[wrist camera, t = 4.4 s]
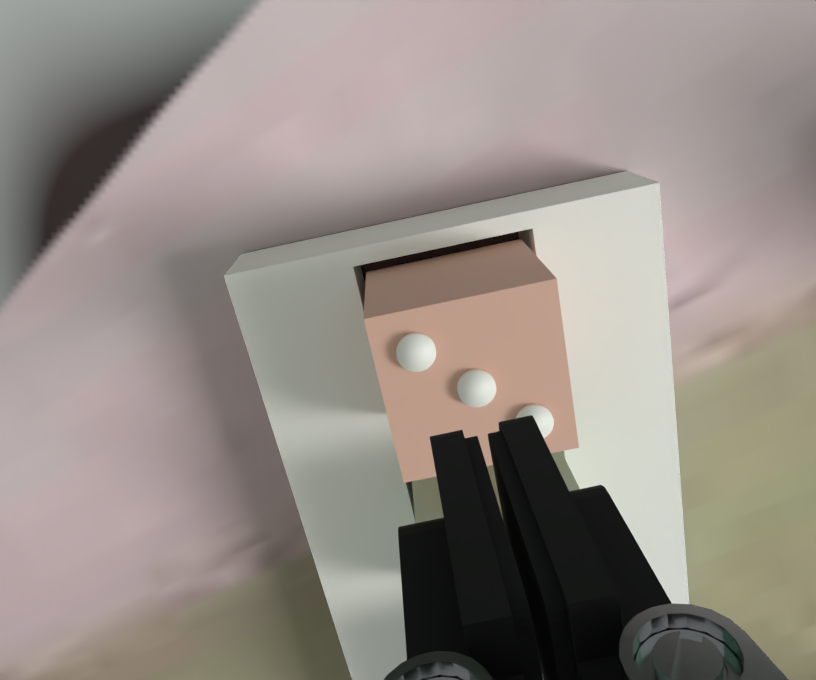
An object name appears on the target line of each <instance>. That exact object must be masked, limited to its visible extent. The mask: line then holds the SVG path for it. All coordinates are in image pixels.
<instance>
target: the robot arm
mask: <svg viewBox="0 0 816 680" xmlns="http://www.w3.org/2000/svg"><path fill="white" fill-rule="evenodd" d="M488 441H489V446H490V452H491V457H492V462H493V468H494V473H495V479H496V484H497V489H498V495H499V500H500V506H501V511H502V515H501V511H500V508H499V505H498V502H497V498H496V495H495V492H494V488H493V485H492V482H491V479H490V475H489V472H488V469H487V466H486V462H485V459H484V456H483V452H482V449H481V446H480V443H479V439H478V436H474V437H469V438H464V434H463V430H459V431H454V432H449V433H444V434H440V435H435V436H430V442H431V448H432V453H433V459H434V465H435V471H436V476H437V482H438V488H439V493H440V499H441V505H442V511H443V516H444V518H439V519H434V520H429V521H424V522H420V523H415V524H410V525H405V526H400V527H399V528H398V540H399V555H400V569H401V583H402V597H403V611H404V625H405V639H406V653H407V660H406V661H404V662H402V663H401V664H399V665H398V666H397V667H396V668H395V669H394V670H392V671H391V672H390V673H389V674H388V675H387V676H386V677H385V678H384V680H543V679H544V680H788V679H787V677H786V676H785V675H784V674H783V673H782V672H781V671H780V670H779V669H778V667H777V666H776V665H775V664H774V663H773V662H772V661H771V660H770V659H769V657H768V656H767V655H766V654H765V653H764V652H763V651H762V650H761V649H760V647H759V646H758V645H757V644H756V643H755V642H754V641H753V640H752V639H751V637H750V636H749V635H748V634H747V633H746V632H745V631H744V630H742V629H741V628H740V627H739V626H738V625H737V624H735V623H734V622H733V621H732V620H731V619H729V618H727V617H725V616H723V615H721V614H719V613H717V612H715V611H713V610H711V609H707V608H704V607H700V606H696V605H692V604H673V603H671V601H670V599H669V598H668V596H667V594H666V592H665V591H664V589H663V587H662V585H661V584H660V582H659V580H658V578H657V577H656V575H655V573H654V571H653V570H652V568H651V566H650V564H649V563H648V561H647V559H646V557H645V556H644V554H643V552H642V550H641V549H640V547H639V545H638V543H637V542H636V540H635V538H634V536H633V535H632V533H631V531H630V529H629V528H628V526H627V524H626V522H625V521H624V519H623V517H622V515H621V514H620V512H619V510H618V509H617V507H616V505H615V503H614V502H613V500H612V498H611V496H610V495H609V493H608V491H607V490H606V488H605V487H604V486H602V485H597V486H593V487H588V488H583V489H578V490H573V491H569V490H568V488H567V486H566V484H565V481H564V479H563V477H562V475H561V473H560V471H559V469H558V467H557V465H556V463H555V461H554V459H553V457H552V454H551V452H550V450H549V448H548V446H547V444H546V442H545V440H544V438H543V436H542V434H541V432H540V430H539V427H538V425H537V423H536V421H535V419H534V417H533V416H532V415H530V416H525V417H520V418H516V419H511V420H506V421H501V422H499V431H497V432H493V433H488ZM502 516H503V518H502ZM542 675H543V676H542Z"/></svg>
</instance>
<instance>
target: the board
mask: <svg viewBox="0 0 816 680" xmlns="http://www.w3.org/2000/svg"><path fill="white" fill-rule="evenodd" d="M514 232H518V233H519V239H522V240H523V241H524V243H525V244H526V245H527V246H528V247H529V248H530V249H531V250H532V252H533V253H534V254H535V255H536V256H537V257H538V258H539V259H540V260H541V262H542V263H543V264H544V265H545V266H546V267H547V268H548V269H549V271H550V272H551V273H552V274H553V275H554V276H555V277H556V278H557V284H558V292H559V300H560V307H561V315H562V322H563V330H564V338H565V345H566V353H567V360H568V368H569V375H570V383H571V391H572V398H573V406H574V413H575V421H576V429H577V436H578V444H579V448H575V449H570V450H565V451H561V452H562V454H563V456H564V458H565V460H566V462H567V464H568V466H569V468H570V470H571V472H572V474H573V476H574V478H575V480H576V482H577V484H578V486H579V488H580V489H583V488H588V487H593V486H597V485H602V486H604V487H605V488H606V490H607V491H608V493H609V495H610V496H611V498H612V500H613V502H614V503H615V505H616V507H617V509H618V510H619V512H620V514H621V515H622V517H623V519H624V521H625V522H626V524H627V526H628V528H629V529H630V531H631V533H632V535H633V536H634V538H635V540H636V542H637V543H638V545H639V547H640V549H641V550H642V552H643V554H644V556H645V557H646V559H647V561H648V563H649V564H650V566H651V568H652V570H653V571H654V573H655V575H656V577H657V578H658V580H659V582H660V584H661V585H662V587H663V589H664V591H665V592H666V594H667V596H668V598H669V599H670V601H671V603H673V604H689V595H688V581H687V567H686V553H685V539H684V525H683V510H682V496H681V482H680V468H679V454H678V440H677V425H676V411H675V397H674V383H673V369H672V355H671V341H670V326H669V312H668V298H667V284H666V270H665V256H664V241H663V227H662V213H661V199H660V185H659V182H656V181H653V180H651V179H648V178H645V177H643V176H640V175H637V174H634V173H632V172H629V171H624V172H620V173H615V174H610V175H606V176H601V177H596V178H592V179H587V180H582V181H578V182H573V183H568V184H564V185H559V186H554V187H550V188H545V189H541V190H536V191H531V192H527V193H522V194H517V195H513V196H508V197H503V198H499V199H494V200H489V201H485V202H480V203H475V204H471V205H466V206H462V207H457V208H452V209H448V210H443V211H438V212H434V213H429V214H424V215H420V216H415V217H410V218H406V219H401V220H397V221H392V222H387V223H383V224H378V225H373V226H369V227H364V228H359V229H355V230H350V231H345V232H341V233H336V234H331V235H327V236H322V237H318V238H313V239H308V240H304V241H299V242H294V243H290V244H285V245H280V246H276V247H271V248H266V249H262V250H257V251H252V252H248V253H243V254H240V256H239V257H238V258H237V260H236V261H235V262H234V263H233V265H232V266H231V267H230V268H229V270H228V271H227V272H226V274H225V275H224V279H225V282H226V285H227V288H228V292H229V295H230V298H231V301H232V304H233V307H234V310H235V314H236V317H237V320H238V323H239V326H240V329H241V332H242V336H243V339H244V342H245V345H246V348H247V351H248V354H249V358H250V361H251V364H252V367H253V370H254V373H255V376H256V380H257V383H258V386H259V389H260V392H261V395H262V398H263V402H264V405H265V408H266V411H267V414H268V417H269V420H270V424H271V427H272V430H273V433H274V436H275V439H276V442H277V446H278V449H279V452H280V455H281V458H282V461H283V464H284V468H285V471H286V474H287V477H288V480H289V483H290V486H291V490H292V493H293V496H294V499H295V502H296V505H297V508H298V512H299V515H300V518H301V521H302V524H303V527H304V530H305V534H306V537H307V540H308V543H309V546H310V549H311V552H312V556H313V559H314V562H315V565H316V568H317V571H318V574H319V578H320V581H321V584H322V587H323V590H324V593H325V596H326V600H327V603H328V606H329V609H330V612H331V615H332V618H333V622H334V625H335V628H336V631H337V634H338V637H339V640H340V644H341V647H342V650H343V653H344V656H345V659H346V662H347V666H348V669H349V672H350V675H351V678H352V680H384V678H385V677H386V676H387V675H388V674H389V673H390V672H391V671H392V670H394V669H395V668H396V667H397V666H398V665H399V664H401V663H402V662H404V661H406V660H407V653H406V639H405V625H404V611H403V597H402V583H401V569H400V555H399V540H398V528H399V527H400V526H405V525H410V524H415V511H414V500H413V488H412V481H411V482H406V483H404V482H403V478H402V474H401V470H400V466H399V462H398V458H397V454H396V450H395V446H394V441H393V437H392V433H391V429H390V425H389V421H388V417H387V413H386V409H385V405H384V401H383V397H382V393H381V389H380V385H379V380H378V376H377V372H376V368H375V364H374V360H373V356H372V352H371V348H370V344H369V340H368V336H367V332H366V328H365V323H364V302H365V283H364V278H363V274H362V270H361V266H360V265H364V264H368V263H373V262H378V261H382V260H387V259H392V258H396V257H401V256H406V255H410V254H415V253H420V252H425V251H429V250H434V249H439V248H443V247H448V246H453V245H457V244H462V243H467V242H471V241H476V240H481V239H485V238H490V237H495V236H500V235H504V234H509V233H514Z"/></svg>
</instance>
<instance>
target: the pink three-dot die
mask: <svg viewBox="0 0 816 680" xmlns="http://www.w3.org/2000/svg"><path fill="white" fill-rule="evenodd" d="M364 323H365V328H366V332H367V336H368V340H369V344H370V348H371V352H372V356H373V360H374V364H375V368H376V372H377V376H378V380H379V385H380V389H381V393H382V397H383V401H384V405H385V409H386V413H387V417H388V421H389V425H390V429H391V433H392V437H393V441H394V446H395V450H396V454H397V458H398V462H399V466H400V470H401V474H402V478H403V482H404V483H406V482H411V481H416V480H421V479H426V478H431V477H436V471H435V465H434V459H433V453H432V448H431V442H430V436H435V435H440V434H444V433H449V432H454V431H459V430H463V434H464V438H469V437H474V436H478V439H479V443H480V446H481V449H482V452H483V456H484V459H485V462H486V466H490V465H493V462H492V457H491V452H490V446H489V441H488V433H493V432H497V431H499V422H501V421H506V420H511V419H516V418H520V417H525V416H530V415H532V416H533V417H534V419H535V421H536V423H537V425H538V427H539V430H540V432H541V434H542V436H543V438H544V440H545V442H546V444H547V446H548V448H549V450H550V452H551V453H555V452H560V451H565V450H570V449H575V448H579V444H578V436H577V429H576V421H575V413H574V406H573V398H572V391H571V383H570V375H569V368H568V360H567V353H566V345H565V338H564V330H563V322H562V315H561V307H560V300H559V292H558V284H557V278H556V277H555V276H554V275H553V274H552V273H551V272H550V271H549V269H548V268H547V267H546V266H545V265H544V264H543V263H542V262H541V260H540V259H539V258H538V257H537V256H536V255H535V254H534V253H533V252H532V250H531V249H530V248H529V247H528V246H527V245H526V244H525V243H524V241H523V240H522V239H519V240H514V241H509V242H505V243H500V244H495V245H491V246H486V247H481V248H476V249H472V250H467V251H462V252H458V253H453V254H448V255H444V256H439V257H434V258H430V259H425V260H420V261H415V262H411V263H406V264H401V265H397V266H392V267H387V268H383V269H378V270H373V271H368V272H366V285H365V302H364Z"/></svg>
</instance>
